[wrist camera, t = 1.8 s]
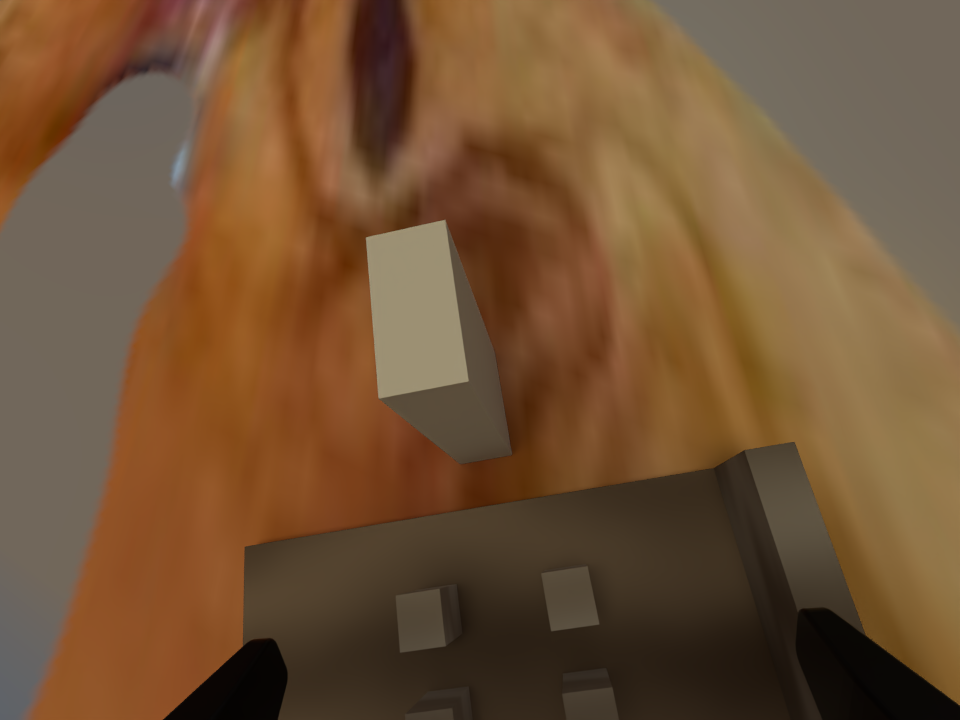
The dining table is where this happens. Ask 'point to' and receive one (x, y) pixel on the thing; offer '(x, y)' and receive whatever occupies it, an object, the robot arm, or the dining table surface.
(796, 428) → the dining table surface
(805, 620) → the robot arm
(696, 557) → the stand
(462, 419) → the rectangular block
